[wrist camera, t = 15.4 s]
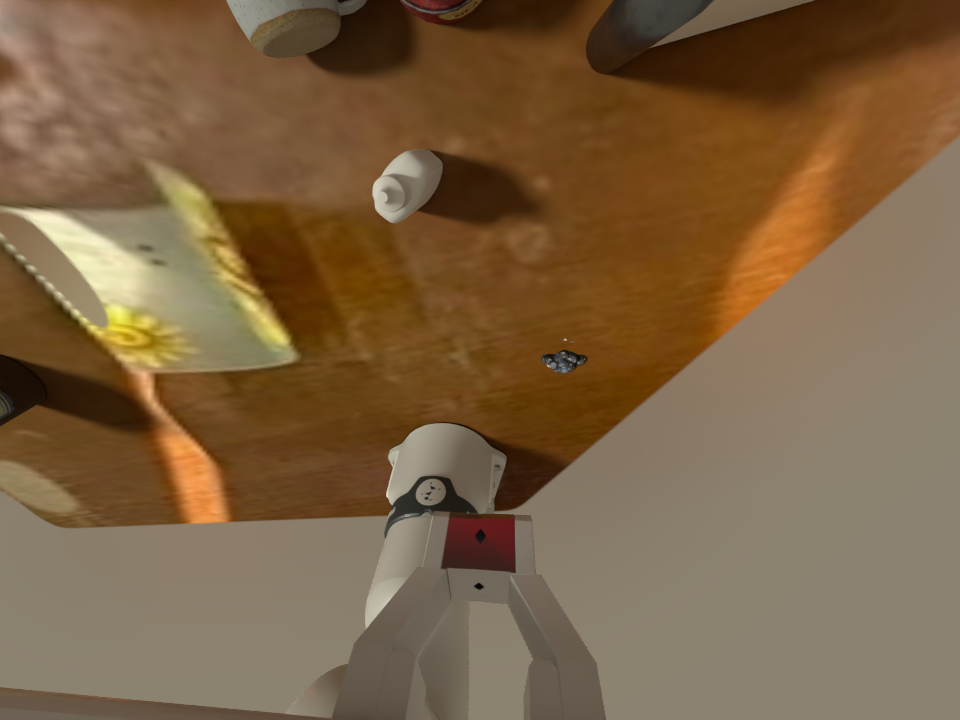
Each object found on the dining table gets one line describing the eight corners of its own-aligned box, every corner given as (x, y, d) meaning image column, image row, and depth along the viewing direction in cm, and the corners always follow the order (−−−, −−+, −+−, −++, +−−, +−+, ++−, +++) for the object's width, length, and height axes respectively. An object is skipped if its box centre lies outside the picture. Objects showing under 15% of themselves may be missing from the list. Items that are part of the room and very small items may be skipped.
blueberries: (531, 334, 43) (531, 342, 41) (598, 329, 41) (600, 337, 40) (535, 377, 46) (535, 385, 45) (597, 374, 45) (599, 383, 43)
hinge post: (627, 73, 28) (714, 22, 16) (583, 74, 28) (637, 26, 17) (637, 12, 26) (744, -94, 14) (589, 14, 26) (656, -89, 15)
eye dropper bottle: (455, 191, 34) (433, 212, 24) (406, 214, 35) (366, 243, 25) (435, 143, 32) (402, 143, 22) (384, 170, 33) (330, 181, 23)
